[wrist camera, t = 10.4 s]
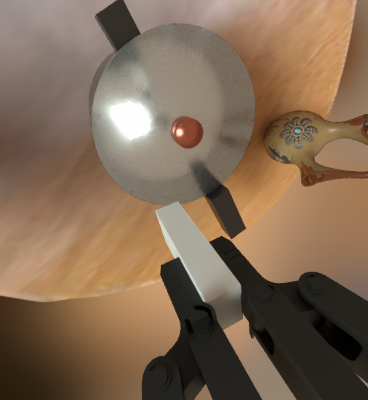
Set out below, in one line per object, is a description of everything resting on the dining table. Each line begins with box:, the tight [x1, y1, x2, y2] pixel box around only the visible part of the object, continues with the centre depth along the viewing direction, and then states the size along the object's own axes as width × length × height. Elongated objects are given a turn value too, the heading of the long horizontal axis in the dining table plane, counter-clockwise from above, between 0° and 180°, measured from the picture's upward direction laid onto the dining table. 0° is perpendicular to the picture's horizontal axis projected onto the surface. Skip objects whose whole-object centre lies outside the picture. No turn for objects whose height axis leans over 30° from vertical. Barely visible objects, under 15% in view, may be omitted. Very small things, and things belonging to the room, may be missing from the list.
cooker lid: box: [91, 24, 255, 239], centre depth 32 cm, size 32×22×3 cm
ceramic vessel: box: [264, 110, 368, 186], centre depth 45 cm, size 16×9×25 cm, turn 133°
